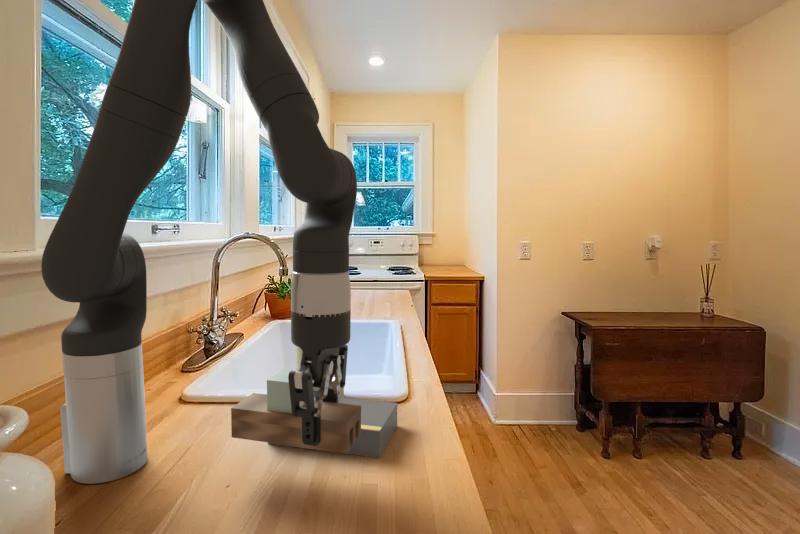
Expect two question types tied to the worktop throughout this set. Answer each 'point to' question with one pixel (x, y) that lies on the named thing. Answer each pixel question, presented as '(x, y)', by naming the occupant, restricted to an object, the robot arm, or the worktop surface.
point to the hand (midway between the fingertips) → (320, 432)
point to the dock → (371, 426)
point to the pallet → (295, 424)
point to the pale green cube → (279, 393)
